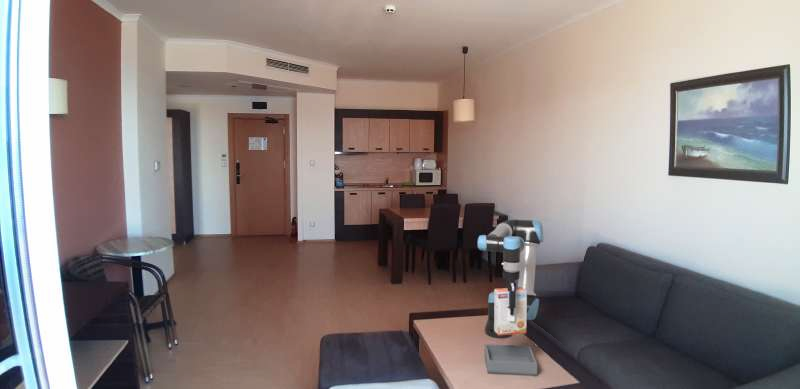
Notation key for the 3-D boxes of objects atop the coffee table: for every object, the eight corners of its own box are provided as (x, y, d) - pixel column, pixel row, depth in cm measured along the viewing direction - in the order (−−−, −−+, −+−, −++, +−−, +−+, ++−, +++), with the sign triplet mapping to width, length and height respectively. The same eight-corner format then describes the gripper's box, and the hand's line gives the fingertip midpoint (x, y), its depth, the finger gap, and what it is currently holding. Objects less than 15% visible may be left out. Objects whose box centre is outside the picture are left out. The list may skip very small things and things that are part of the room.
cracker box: (521, 329, 212) (522, 286, 210) (526, 334, 206) (527, 290, 204) (493, 330, 210) (494, 287, 208) (497, 335, 204) (498, 291, 202)
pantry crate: (484, 355, 220) (484, 344, 219) (529, 357, 218) (530, 345, 217) (487, 373, 202) (487, 361, 202) (536, 376, 200) (537, 363, 199)
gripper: (500, 264, 215) (499, 310, 218) (505, 275, 196) (504, 325, 198) (516, 265, 215) (515, 310, 217) (523, 276, 195) (521, 326, 197)
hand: (510, 317), depth 207 cm, fingers closed on cracker box, 7 cm apart
